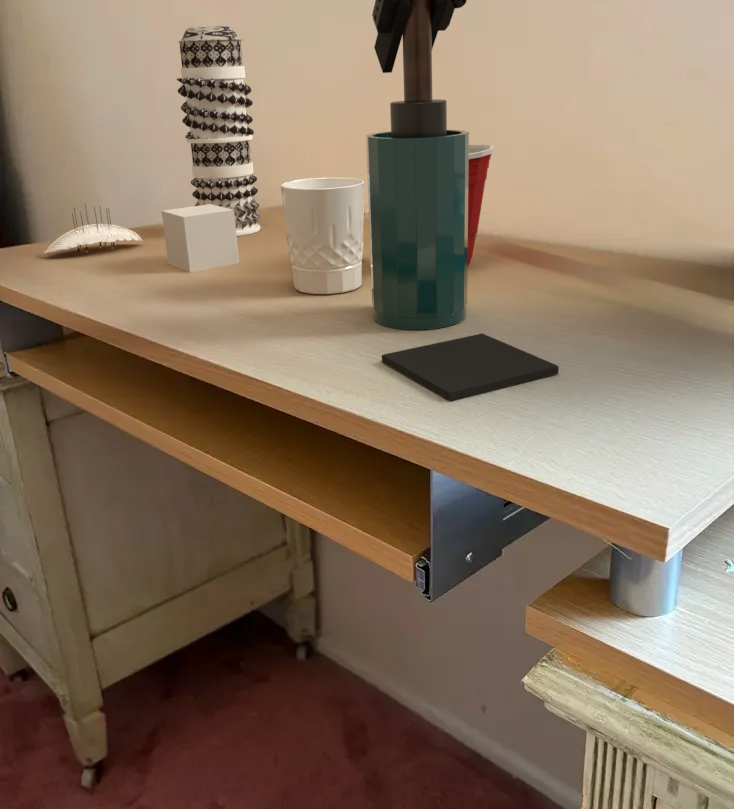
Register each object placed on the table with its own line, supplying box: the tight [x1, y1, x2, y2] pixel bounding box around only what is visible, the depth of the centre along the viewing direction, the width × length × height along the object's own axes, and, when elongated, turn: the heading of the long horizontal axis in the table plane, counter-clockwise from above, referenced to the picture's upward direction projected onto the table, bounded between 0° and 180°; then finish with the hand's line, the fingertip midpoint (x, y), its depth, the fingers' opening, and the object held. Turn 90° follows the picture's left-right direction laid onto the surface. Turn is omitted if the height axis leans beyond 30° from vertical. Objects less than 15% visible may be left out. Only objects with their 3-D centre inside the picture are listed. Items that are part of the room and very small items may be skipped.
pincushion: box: [43, 204, 144, 254], centre depth 101 cm, size 12×6×6 cm, turn 122°
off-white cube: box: [161, 204, 240, 273], centre depth 93 cm, size 6×6×6 cm
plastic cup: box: [468, 144, 495, 267], centre depth 87 cm, size 11×11×12 cm
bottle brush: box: [389, 0, 448, 138], centre depth 63 cm, size 4×4×21 cm
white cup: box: [280, 176, 365, 295], centre depth 80 cm, size 8×8×10 cm
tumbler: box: [365, 129, 470, 331], centre depth 69 cm, size 8×8×15 cm
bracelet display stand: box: [176, 25, 261, 237], centre depth 107 cm, size 9×9×25 cm
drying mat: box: [381, 333, 560, 402], centre depth 59 cm, size 9×9×1 cm
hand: (399, 58), depth 67 cm, fingers closed on bottle brush, 2 cm apart
